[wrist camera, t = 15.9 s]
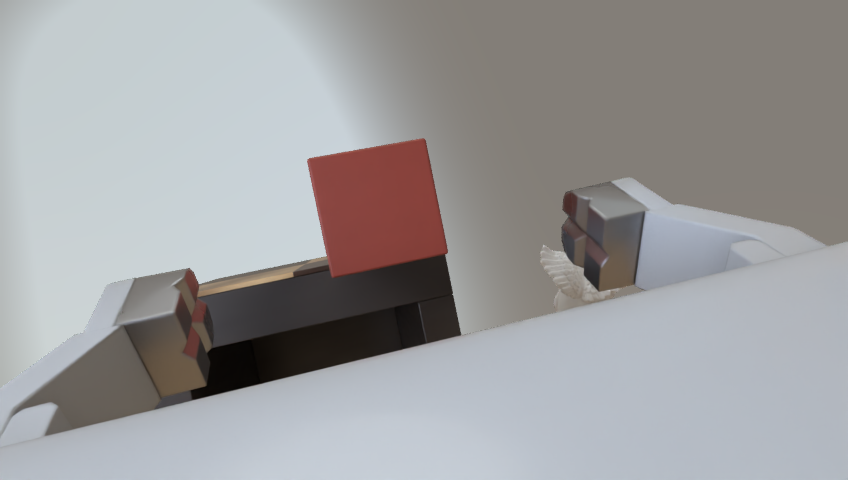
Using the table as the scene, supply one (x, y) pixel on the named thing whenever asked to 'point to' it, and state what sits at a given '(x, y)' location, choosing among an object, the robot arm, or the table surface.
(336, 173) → the red block
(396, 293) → the stand
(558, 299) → the cherub figurine
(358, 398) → the robot arm
